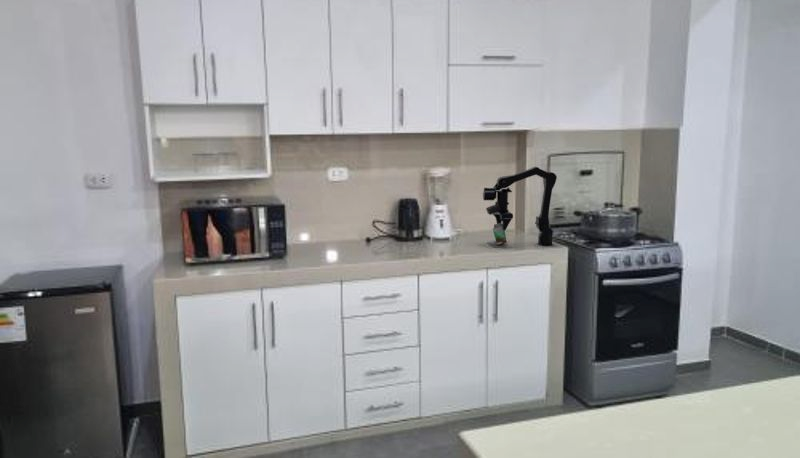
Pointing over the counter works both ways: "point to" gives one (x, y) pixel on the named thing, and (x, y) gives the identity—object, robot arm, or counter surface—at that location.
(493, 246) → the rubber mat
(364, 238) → the counter surface
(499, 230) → the food container
